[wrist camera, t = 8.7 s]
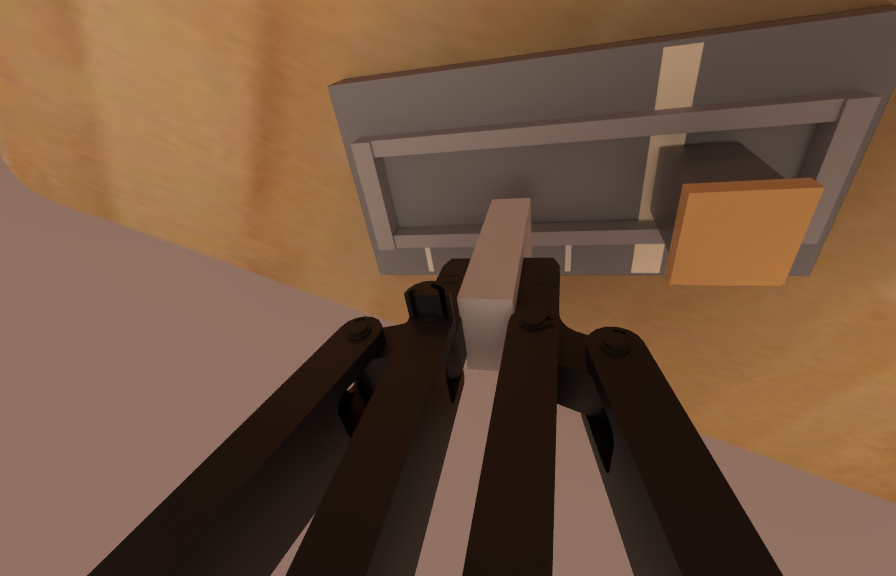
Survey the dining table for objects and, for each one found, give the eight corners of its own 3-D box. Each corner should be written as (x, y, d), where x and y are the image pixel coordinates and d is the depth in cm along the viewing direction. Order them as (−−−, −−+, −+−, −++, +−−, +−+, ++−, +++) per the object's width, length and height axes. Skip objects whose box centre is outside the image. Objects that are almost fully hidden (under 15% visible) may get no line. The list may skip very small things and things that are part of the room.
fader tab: (749, 133, 16) (824, 187, 12) (726, 213, 18) (783, 285, 14) (653, 140, 17) (689, 193, 13) (642, 216, 19) (669, 285, 15)
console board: (892, 4, 15) (959, 6, 13) (790, 254, 21) (822, 289, 19) (344, 79, 21) (315, 90, 18) (390, 258, 27) (373, 285, 25)
